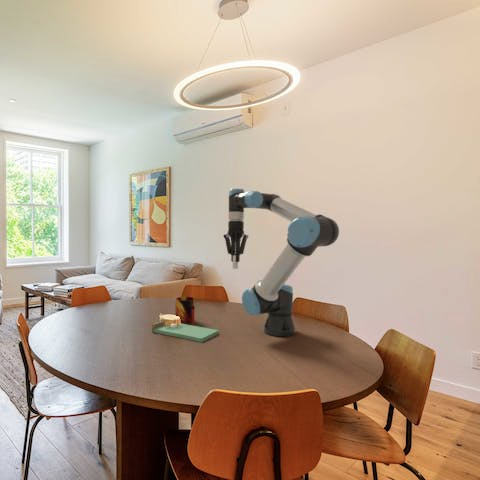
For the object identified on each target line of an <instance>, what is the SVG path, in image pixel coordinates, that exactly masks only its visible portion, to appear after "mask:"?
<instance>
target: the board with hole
mask: <svg viewBox="0 0 480 480" xmlns="http://www.w3.org/2000/svg"><path fill="white" fill-rule="evenodd" d="M151 332H152V333H156V334H161V335H165V336H169V337H175V338H179V339H185V340H189V341H193V342H198V343H203V342H205V341H207V340H209V339H211V338H213V337H215V336H218V335H219V334H220V331H219V330H218V329H213V328H208V327H203V326H202V327H201V326H197V325H194V324H193V325H192V324H191V325H190V324H182V323H181V324H180V325H178V326H177V328H170V326H164V321H163V320H161V321H157V322H155V323H152V324H151Z"/></svg>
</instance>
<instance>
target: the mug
mask: <svg viewBox="0 0 480 480" xmlns="http://www.w3.org/2000/svg"><path fill="white" fill-rule="evenodd" d="M174 315H176V316H179V317H180V319H181V323H182V324H187V325H190V324H191V325H192V324H193V325H194V324H195V298H194V297H191V296H179V297H176V298H175V314H174Z"/></svg>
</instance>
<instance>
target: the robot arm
mask: <svg viewBox="0 0 480 480" xmlns="http://www.w3.org/2000/svg"><path fill="white" fill-rule="evenodd" d="M245 209H259V210H260V209H262V210H268V211H270V212H272V213H274V214H275V215H277V216H279V217H281V218H283V219H285V220H286V221H287V220H288V221H289V222H290V223H289V225H288V228H287V233H286V234H287V235H286V236H287V237H286V243H287V244H286V246H285V247H284V248H283V250H281V253H280V254H279V255H278V257H277V258H276V260H275V261H274V262H273V264H272V265H271V267H270V268H269V269H268V270H267V273H266V274H265V275H264V277H263V278H262V280H257V281H256V282H255V284H254V285H253V287H252V288H247V289H245V290H244V291H243V293H242V295H241V304H242V307H243V309H244V311H245V312H246V313H247V314H248V315H250V316H259V315H263V314H267V316H266V319H265V322H264V325H263V332H264V333H265V334H266V335H269V336H275V337H289V336H293V335H295V334H296V330H297V329H296V324H295V321H294V318H293V303H294V302H293V300H294V299H293V298H294V293H293V292H294V291H293V286H292V285H290V284H285V283H286V282H287V281H288V280H289V278H290V277H291V276H292V274H293V273H294V272H295V271H296V270H297V268H298V267H299V265H300V264H301V262H302V261H303V260H304V259H305V258H306V257H311V256H312V254H314V252H315V251H316V250H317V248H318V247H329V246H331V245H333V244H334V243H336V241H337V240H338V238H339V235H340V229H339V228H340V227H339V224H338V223H337V222H336V221H335V220H334V219H332V218H330V217H328V216H325V215H323V214H320V213H319V214H315V213H313V212H310V211H308V210H306V209H304V208H302V207H300V206H297V205H296V204H293V203H291V202H289V201H287V200H285V199H283V198H282V197H281V196H280V195H278V194H275V193H266V192H265V193H264V192H259V190H258V191H257V190H250V191H245V190H244V189H243V188H230V190H229V191H228V220H229V221H228V222H227V223H228V224H227V226H228V231H227V233H226V234H223V238H224V240H225V246H226V251H227V254H228V255H230V257H231V259H230V261H231V262H232V269H233V270H236V269H237V270H238V269H239V262H240V256H241V255H243V254H244V252H245V247H246V243H247V240H248V239H249V235H248V234H246V233H245V231H244V229H245V228H244V225H245V224H244V223H245V222H244V220H245V218H244V217H245Z"/></svg>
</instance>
